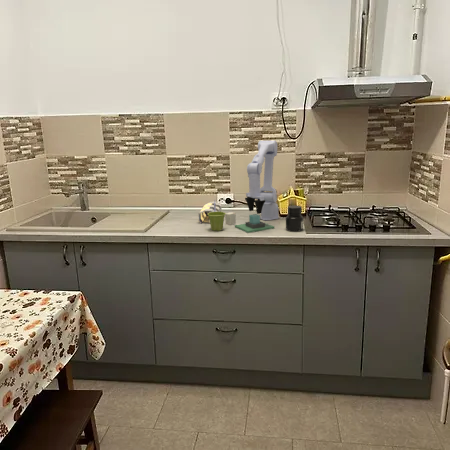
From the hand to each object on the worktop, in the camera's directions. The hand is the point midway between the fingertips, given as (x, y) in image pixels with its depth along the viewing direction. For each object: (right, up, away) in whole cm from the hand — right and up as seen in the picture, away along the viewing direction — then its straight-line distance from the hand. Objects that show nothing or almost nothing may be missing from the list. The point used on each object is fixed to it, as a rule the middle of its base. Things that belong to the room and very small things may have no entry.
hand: (255, 212), depth 223 cm
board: (0, -8, +3) cm, 9 cm away
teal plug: (0, -7, +2) cm, 8 cm away
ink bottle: (+20, -9, -3) cm, 22 cm away
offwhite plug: (-13, -6, +13) cm, 19 cm away
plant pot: (-20, -9, +2) cm, 22 cm away
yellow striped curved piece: (-24, -3, +27) cm, 36 cm away
